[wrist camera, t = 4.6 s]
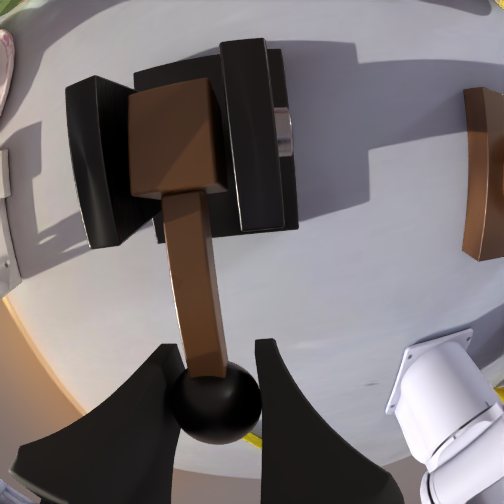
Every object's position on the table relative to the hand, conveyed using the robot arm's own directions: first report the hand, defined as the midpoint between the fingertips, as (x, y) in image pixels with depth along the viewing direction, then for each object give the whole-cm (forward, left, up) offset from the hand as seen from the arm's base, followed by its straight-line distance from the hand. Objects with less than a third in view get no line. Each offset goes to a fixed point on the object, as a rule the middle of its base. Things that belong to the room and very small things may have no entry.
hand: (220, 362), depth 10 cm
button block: (+6, -22, -8) cm, 24 cm away
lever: (+3, 0, -1) cm, 3 cm away
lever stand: (+8, 0, -8) cm, 11 cm away
